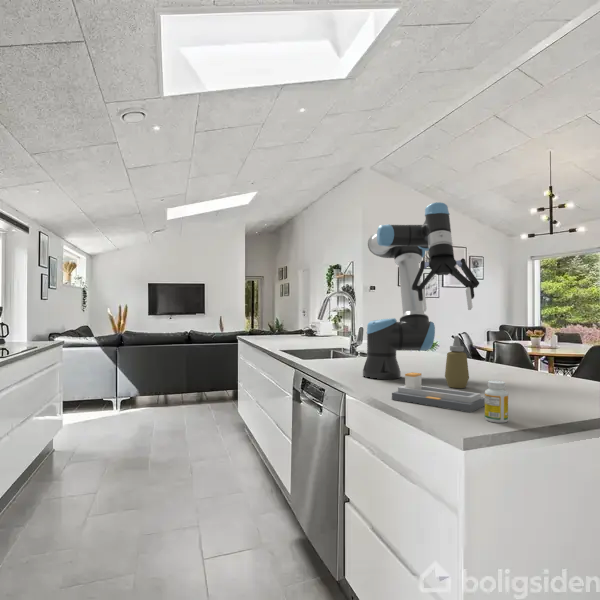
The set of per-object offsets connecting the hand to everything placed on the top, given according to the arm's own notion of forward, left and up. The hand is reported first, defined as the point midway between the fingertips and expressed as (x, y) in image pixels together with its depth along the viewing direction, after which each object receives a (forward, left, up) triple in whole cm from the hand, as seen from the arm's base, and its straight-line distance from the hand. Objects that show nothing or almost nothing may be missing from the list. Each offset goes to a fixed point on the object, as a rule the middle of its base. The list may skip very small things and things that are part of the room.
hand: (447, 309), depth 136 cm
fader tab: (-8, -7, -25) cm, 27 cm away
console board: (0, -7, -27) cm, 28 cm away
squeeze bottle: (-6, +21, -28) cm, 35 cm away
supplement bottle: (+20, -17, -28) cm, 38 cm away
